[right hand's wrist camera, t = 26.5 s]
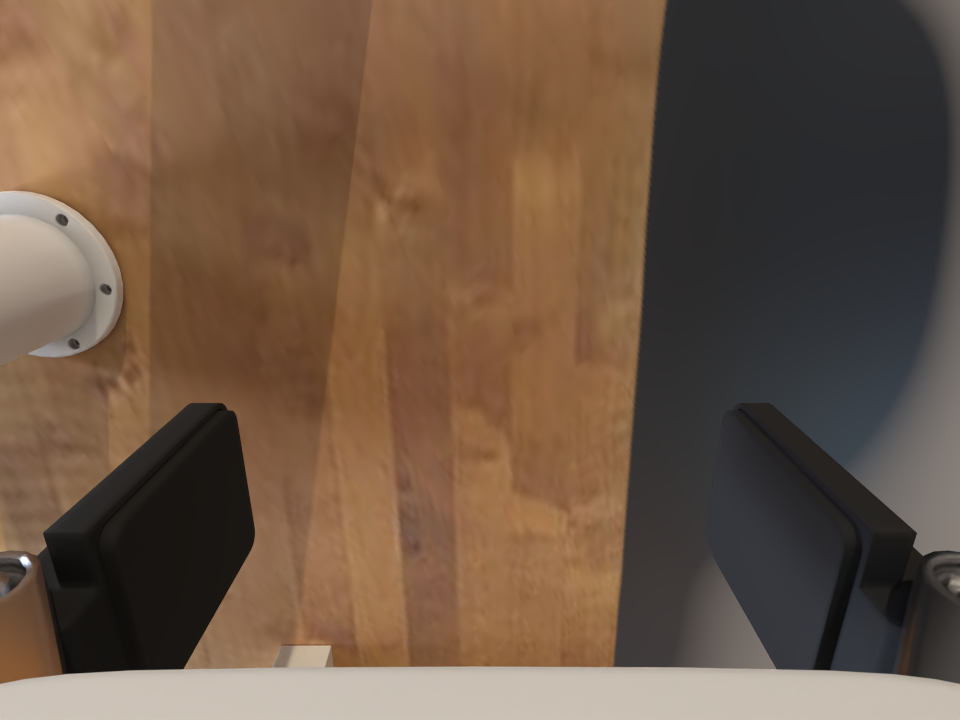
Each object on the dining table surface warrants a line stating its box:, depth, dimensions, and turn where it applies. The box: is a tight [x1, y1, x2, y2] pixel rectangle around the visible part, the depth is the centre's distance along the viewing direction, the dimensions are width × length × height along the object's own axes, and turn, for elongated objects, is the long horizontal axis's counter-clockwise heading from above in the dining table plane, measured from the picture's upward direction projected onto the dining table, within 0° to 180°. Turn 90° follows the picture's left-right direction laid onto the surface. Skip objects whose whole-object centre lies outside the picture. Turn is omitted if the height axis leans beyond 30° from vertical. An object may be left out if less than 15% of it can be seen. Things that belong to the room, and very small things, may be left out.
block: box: [273, 646, 334, 668], centre depth 55 cm, size 5×7×8 cm
